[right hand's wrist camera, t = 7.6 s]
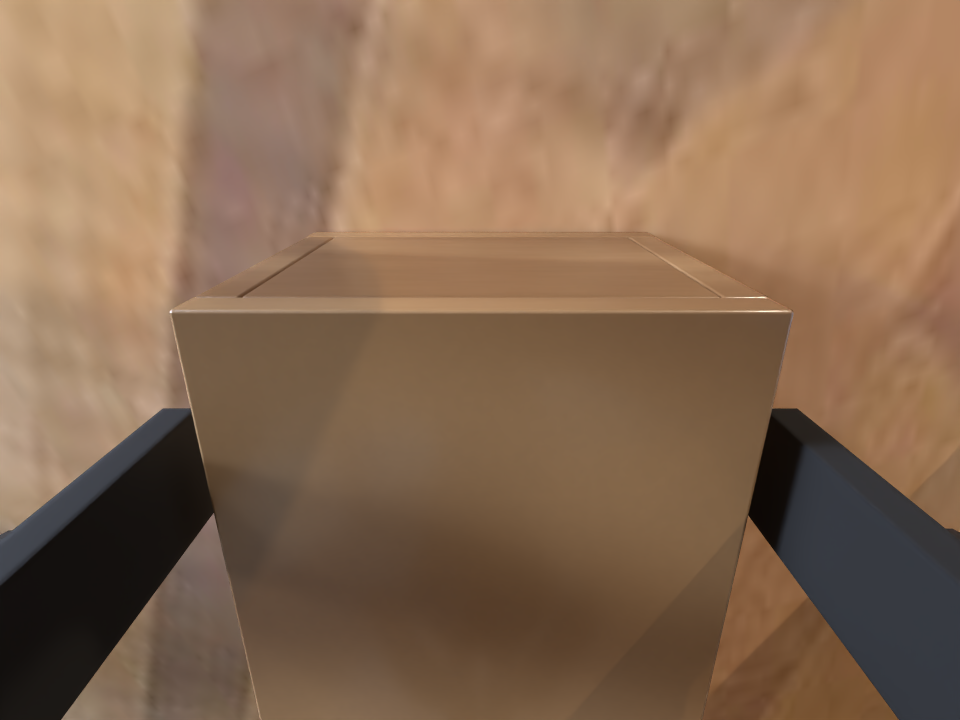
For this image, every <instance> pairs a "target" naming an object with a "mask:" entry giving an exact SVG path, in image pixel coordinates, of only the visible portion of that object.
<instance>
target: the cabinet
mask: <svg viewBox="0 0 960 720" xmlns="http://www.w3.org/2000/svg"><path fill="white" fill-rule="evenodd" d="M170 317H171V322H172V326H173V331H174V335H175V340H176V344H177V349H178V353H179V358H180V362H181V367H182V371H183V376H184V380H185V385H186V389H187V394H188V398H189V403H190V407H191V412H192V416H193V421H194V425H195V429H196V434H197V438H198V443H199V447H200V452H201V456H202V461H203V465H204V470H205V474H206V479H207V483H208V488H209V492H210V497H211V501H212V506H213V510H214V515H215V519H216V524H217V528H218V533H219V537H220V542H221V546H222V551H223V555H224V560H225V564H226V569H227V573H228V578H229V582H230V587H231V591H232V596H233V600H234V605H235V609H236V614H237V618H238V623H239V627H240V632H241V636H242V640H243V645H244V649H245V654H246V658H247V663H248V667H249V672H250V676H251V681H252V685H253V690H254V694H255V699H256V703H257V708H258V712H259V717H260V720H702V718H703V713H704V709H705V704H706V700H707V696H708V691H709V687H710V682H711V678H712V673H713V669H714V664H715V660H716V656H717V651H718V647H719V642H720V638H721V633H722V629H723V624H724V620H725V616H726V611H727V607H728V602H729V598H730V593H731V589H732V584H733V580H734V576H735V571H736V567H737V562H738V558H739V553H740V549H741V544H742V540H743V535H744V531H745V527H746V522H747V518H748V513H749V509H750V504H751V500H752V495H753V491H754V487H755V482H756V478H757V473H758V469H759V464H760V460H761V455H762V451H763V447H764V442H765V438H766V433H767V429H768V424H769V420H770V415H771V411H772V407H773V402H774V398H775V393H776V389H777V384H778V380H779V375H780V371H781V367H782V362H783V358H784V353H785V349H786V344H787V340H788V335H789V331H790V327H791V322H792V318H793V311H792V310H791V309H789V308H787V307H785V306H783V305H781V304H780V303H778V302H776V301H774V300H772V299H770V298H768V297H767V296H765V295H763V294H761V293H759V292H757V291H756V290H754V289H752V288H750V287H748V286H746V285H744V284H742V283H741V282H739V281H737V280H735V279H733V278H731V277H729V276H727V275H726V274H724V273H722V272H720V271H718V270H716V269H714V268H712V267H711V266H709V265H707V264H705V263H703V262H701V261H699V260H697V259H696V258H694V257H692V256H690V255H688V254H686V253H684V252H682V251H681V250H679V249H677V248H675V247H673V246H671V245H669V244H667V243H666V242H664V241H662V240H660V239H658V238H656V237H655V236H653V235H651V234H649V233H647V232H315V233H313V234H311V235H309V236H307V238H305V239H303V240H301V241H299V242H297V243H296V244H294V245H292V246H290V247H288V248H286V249H284V250H282V251H281V252H279V253H277V254H275V255H273V256H271V257H269V258H268V259H266V260H264V261H262V262H260V263H258V264H256V265H254V266H253V267H251V268H249V269H247V270H245V271H243V272H241V273H240V274H238V275H236V276H234V277H232V278H230V279H228V280H226V281H225V282H223V283H221V284H219V285H217V286H215V287H213V288H212V289H210V290H208V291H206V292H204V293H202V294H200V295H198V296H197V297H196V298H192V299H190V300H188V301H187V302H185V303H183V304H181V305H179V306H177V307H175V308H173V309H172V310H170Z"/></svg>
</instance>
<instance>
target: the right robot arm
mask: <svg viewBox="0 0 960 720" xmlns="http://www.w3.org/2000/svg"><path fill="white" fill-rule="evenodd" d="M213 513H214V510H213V506H212V501H211V497H210V492H209V488H208V483H207V479H206V474H205V470H204V465H203V461H202V456H201V452H200V447H199V443H198V438H197V434H196V429H195V425H194V421H193V416H192V412H191V409H162V410H161V411H159V412H158V413H157V414H156V415H154V416H153V417H152V418H151V419H149V420H148V421H147V422H146V423H144V424H143V425H142V426H141V427H140V428H138V429H137V430H136V431H135V432H133V433H132V434H131V435H130V436H128V437H127V438H126V439H125V440H124V441H122V442H121V443H120V444H119V445H117V446H116V447H115V448H114V449H112V450H111V451H110V452H109V453H108V454H106V455H105V456H104V457H103V458H101V459H100V460H99V461H98V462H96V463H95V464H94V465H93V466H91V467H90V468H89V469H88V470H87V471H85V472H84V473H83V474H82V475H80V476H79V477H78V478H77V479H75V480H74V481H73V482H72V483H71V484H69V485H68V486H67V487H66V488H64V489H63V490H62V491H61V492H59V493H58V494H57V495H56V496H55V497H53V498H52V499H51V500H50V501H48V502H47V503H46V504H45V505H43V506H42V507H41V508H40V509H38V510H37V511H36V512H35V513H34V514H32V515H31V516H30V517H29V518H27V519H26V520H25V521H24V522H22V523H21V524H20V525H19V526H18V527H16V528H15V529H14V530H13V531H7V532H5V533H3V534H1V535H0V720H61V719H62V718H63V716H64V715H65V714H66V712H67V711H68V709H69V708H70V707H71V705H72V704H73V703H74V701H75V700H76V699H77V697H78V696H79V695H80V693H81V692H82V690H83V689H84V688H85V686H86V685H87V684H88V682H89V681H90V680H91V678H92V677H93V676H94V674H95V673H96V672H97V670H98V669H99V667H100V666H101V665H102V663H103V662H104V661H105V659H106V658H107V657H108V655H109V654H110V653H111V651H112V650H113V648H114V647H115V646H116V644H117V643H118V642H119V640H120V639H121V638H122V636H123V635H124V634H125V632H126V631H127V629H128V628H129V627H130V625H131V624H132V623H133V621H134V620H135V619H136V617H137V616H138V615H139V613H140V612H141V610H142V609H143V608H144V606H145V605H146V604H147V602H148V601H149V600H150V598H151V597H152V596H153V594H154V593H155V591H156V590H157V589H158V587H159V586H160V585H161V583H162V582H163V581H164V579H165V578H166V577H167V575H168V574H169V572H170V571H171V570H172V568H173V567H174V566H175V564H176V563H177V562H178V560H179V559H180V558H181V556H182V555H183V553H184V552H185V551H186V549H187V548H188V547H189V545H190V544H191V543H192V541H193V540H194V539H195V537H196V536H197V535H198V533H199V532H200V530H201V529H202V528H203V526H204V525H205V524H206V522H207V521H208V520H209V518H210V517H211V516H212V514H213ZM748 516H749V517H750V518H751V520H752V521H753V522H754V524H755V525H756V526H757V528H758V529H759V530H760V532H761V533H762V535H763V536H764V537H765V539H766V540H767V541H768V543H769V544H770V545H771V547H772V548H773V549H774V551H775V552H776V553H777V555H778V556H779V558H780V559H781V560H782V562H783V563H784V564H785V566H786V567H787V568H788V570H789V571H790V572H791V574H792V575H793V577H794V578H795V579H796V581H797V582H798V583H799V585H800V586H801V587H802V589H803V590H804V591H805V593H806V594H807V596H808V597H809V598H810V600H811V601H812V602H813V604H814V605H815V606H816V608H817V609H818V610H819V612H820V613H821V615H822V616H823V617H824V619H825V620H826V621H827V623H828V624H829V625H830V627H831V628H832V629H833V631H834V632H835V634H836V635H837V636H838V638H839V639H840V640H841V642H842V643H843V644H844V646H845V647H846V648H847V650H848V651H849V653H850V654H851V655H852V657H853V658H854V659H855V661H856V662H857V663H858V665H859V666H860V667H861V669H862V670H863V672H864V673H865V674H866V676H867V677H868V678H869V680H870V681H871V682H872V684H873V685H874V686H875V688H876V689H877V690H878V692H879V693H880V695H881V696H882V697H883V699H884V700H885V701H886V703H887V704H888V705H889V707H890V708H891V709H892V711H893V712H894V714H895V715H896V716H897V718H898V719H899V720H960V532H958V531H956V530H954V529H945V528H944V527H942V526H941V525H940V524H939V523H938V522H936V521H935V520H934V519H933V518H931V517H930V516H929V515H928V514H926V513H925V512H924V511H923V510H922V509H920V508H919V507H918V506H917V505H915V504H914V503H913V502H912V501H910V500H909V499H908V498H907V497H905V496H904V495H903V494H902V493H901V492H899V491H898V490H897V489H896V488H894V487H893V486H892V485H891V484H889V483H888V482H887V481H886V480H885V479H883V478H882V477H881V476H880V475H878V474H877V473H876V472H875V471H873V470H872V469H871V468H870V467H869V466H867V465H866V464H865V463H864V462H862V461H861V460H860V459H859V458H857V457H856V456H855V455H854V454H852V453H851V452H850V451H849V450H848V449H846V448H845V447H844V446H843V445H841V444H840V443H839V442H838V441H836V440H835V439H834V438H833V437H832V436H830V435H829V434H828V433H827V432H825V431H824V430H823V429H822V428H820V427H819V426H818V425H817V424H816V423H814V422H813V421H812V420H811V419H809V418H808V417H807V416H806V415H804V414H803V413H802V412H801V411H799V410H798V409H772V411H771V415H770V420H769V424H768V429H767V433H766V438H765V442H764V447H763V451H762V455H761V460H760V464H759V469H758V473H757V478H756V482H755V487H754V491H753V495H752V500H751V504H750V509H749V513H748Z"/></svg>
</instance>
